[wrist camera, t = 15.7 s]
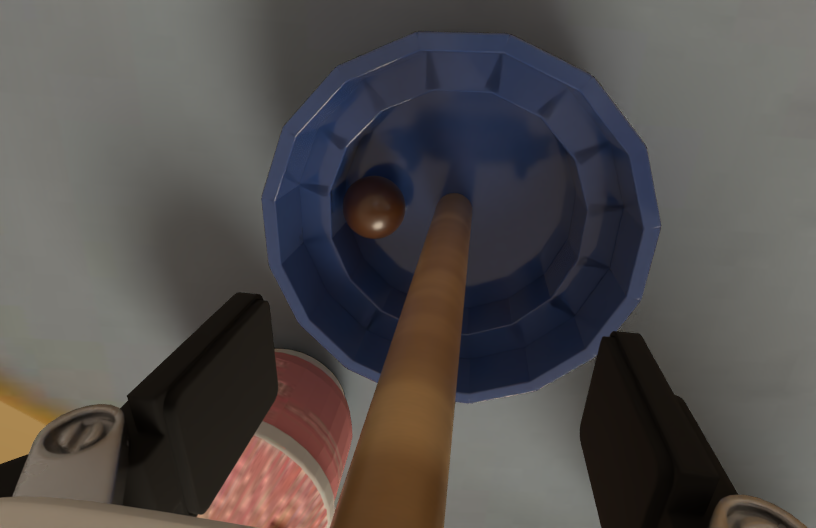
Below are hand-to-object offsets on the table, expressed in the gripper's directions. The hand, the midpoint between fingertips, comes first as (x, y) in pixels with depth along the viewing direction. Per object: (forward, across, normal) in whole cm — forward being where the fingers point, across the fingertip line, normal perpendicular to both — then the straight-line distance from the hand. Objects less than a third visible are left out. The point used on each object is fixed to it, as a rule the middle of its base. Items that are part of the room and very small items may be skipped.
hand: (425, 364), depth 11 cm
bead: (+12, +4, 0) cm, 12 cm away
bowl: (+14, 0, 0) cm, 14 cm away
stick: (+13, 0, 0) cm, 13 cm away
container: (+14, +10, +14) cm, 22 cm away
